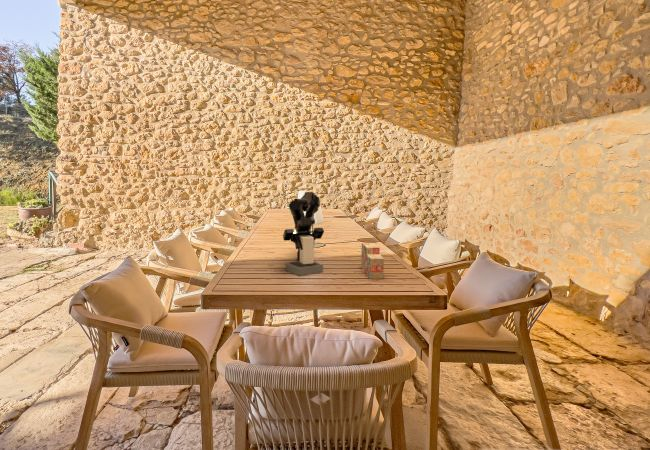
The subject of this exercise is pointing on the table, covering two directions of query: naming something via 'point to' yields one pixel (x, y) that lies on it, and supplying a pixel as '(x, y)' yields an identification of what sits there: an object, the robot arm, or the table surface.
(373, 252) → the stack of blocks
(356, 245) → the table surface
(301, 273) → the grey square tray
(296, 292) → the table surface
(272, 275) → the table surface
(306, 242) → the cream block
